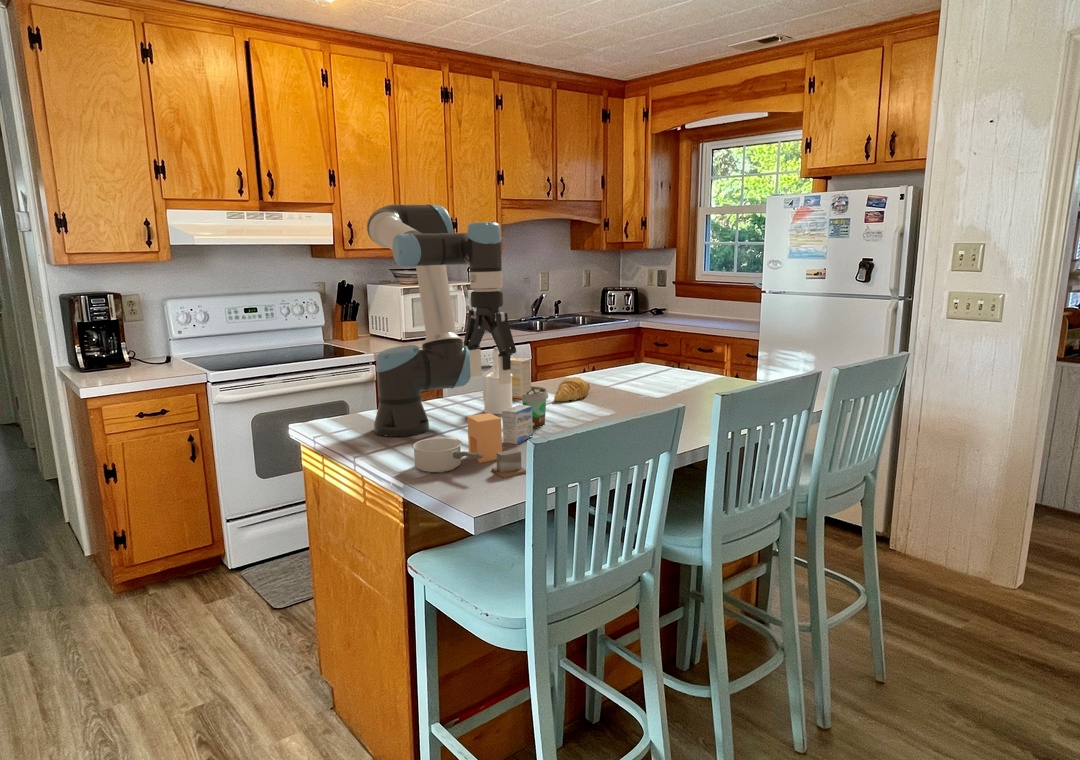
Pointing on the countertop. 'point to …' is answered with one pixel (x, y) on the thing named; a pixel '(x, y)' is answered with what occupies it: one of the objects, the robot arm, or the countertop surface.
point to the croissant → (572, 389)
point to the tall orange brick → (485, 436)
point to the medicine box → (517, 424)
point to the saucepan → (439, 454)
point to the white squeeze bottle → (496, 389)
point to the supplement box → (520, 377)
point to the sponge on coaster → (509, 463)
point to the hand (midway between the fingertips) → (490, 379)
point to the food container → (536, 404)
